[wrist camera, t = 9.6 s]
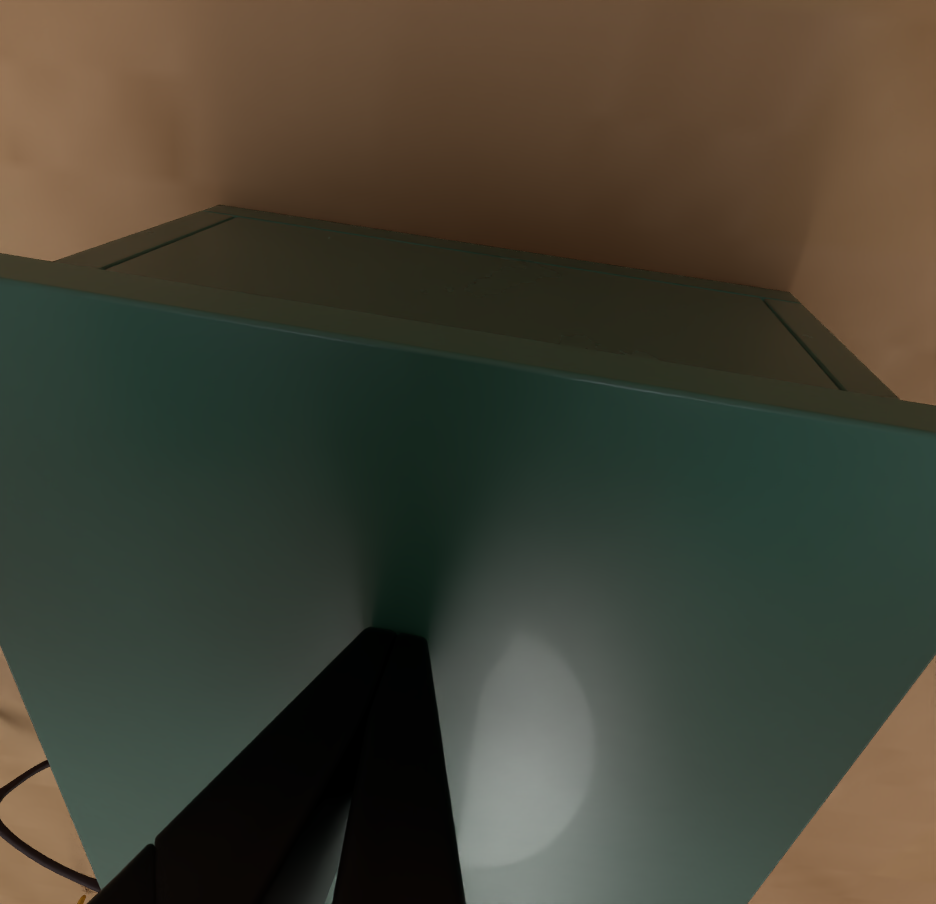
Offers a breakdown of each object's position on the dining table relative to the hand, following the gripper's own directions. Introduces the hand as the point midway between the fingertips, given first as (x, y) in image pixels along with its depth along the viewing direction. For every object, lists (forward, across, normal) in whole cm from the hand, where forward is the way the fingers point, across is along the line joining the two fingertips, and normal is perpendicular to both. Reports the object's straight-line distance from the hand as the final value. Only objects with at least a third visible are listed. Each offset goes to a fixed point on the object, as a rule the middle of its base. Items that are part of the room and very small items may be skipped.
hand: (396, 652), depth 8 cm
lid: (+1, 0, +3) cm, 3 cm away
